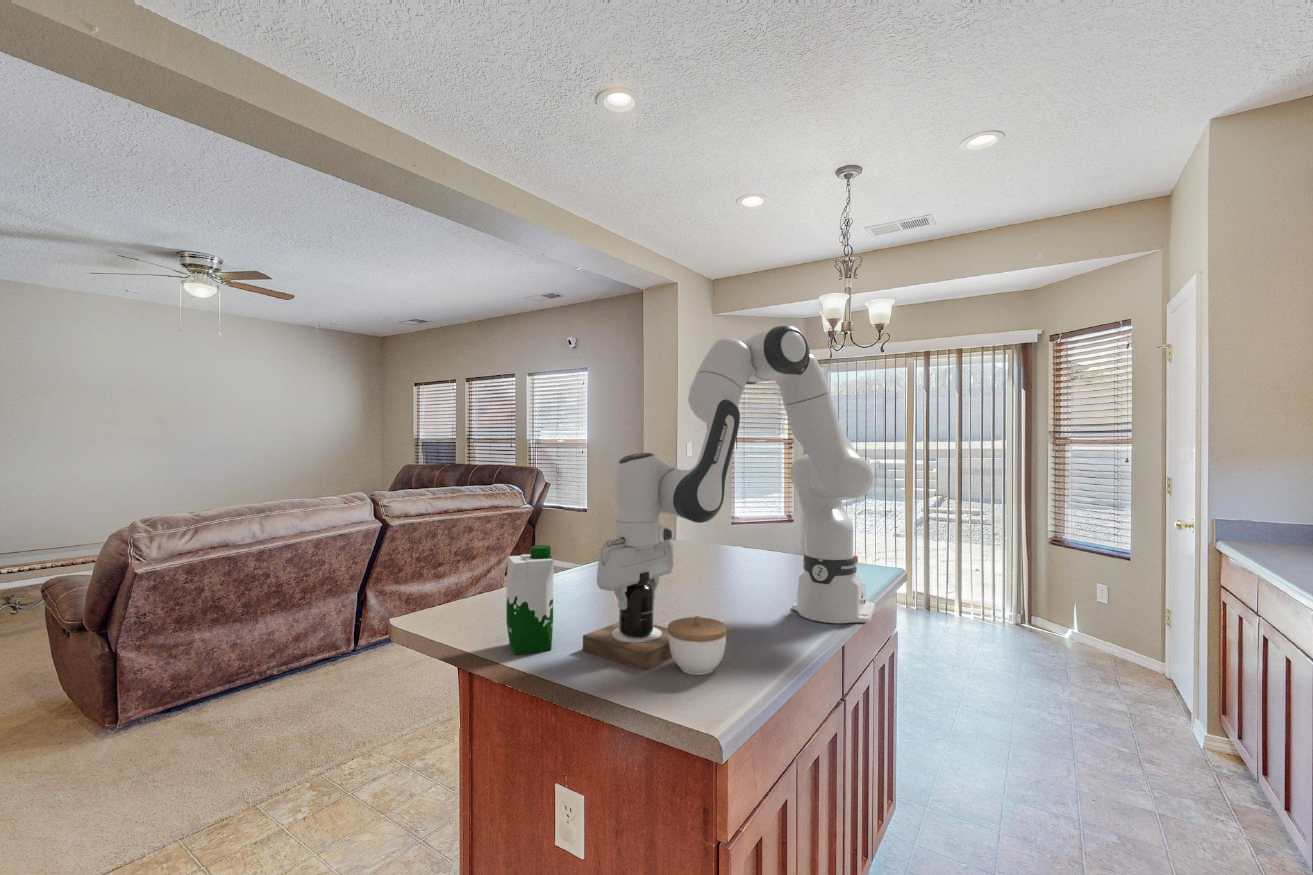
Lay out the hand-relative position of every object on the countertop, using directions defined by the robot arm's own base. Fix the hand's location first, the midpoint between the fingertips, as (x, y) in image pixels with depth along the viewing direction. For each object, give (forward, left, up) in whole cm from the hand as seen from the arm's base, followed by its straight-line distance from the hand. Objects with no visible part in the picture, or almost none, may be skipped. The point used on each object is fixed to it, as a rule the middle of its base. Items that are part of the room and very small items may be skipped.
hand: (637, 604), depth 113 cm
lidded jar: (+1, +15, -9) cm, 17 cm away
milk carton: (+12, -18, -9) cm, 24 cm away
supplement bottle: (0, 0, -6) cm, 6 cm away
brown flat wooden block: (0, 0, -9) cm, 9 cm away
